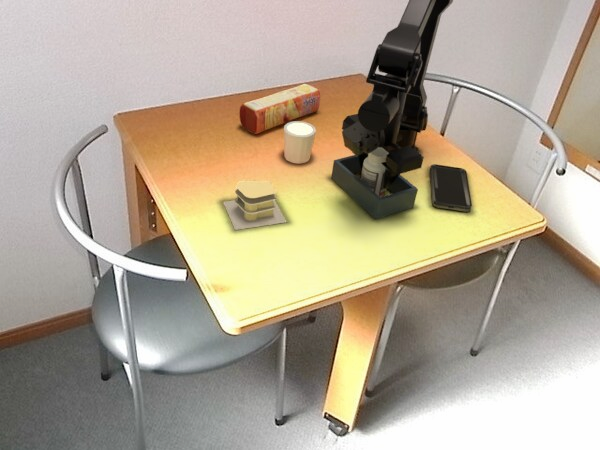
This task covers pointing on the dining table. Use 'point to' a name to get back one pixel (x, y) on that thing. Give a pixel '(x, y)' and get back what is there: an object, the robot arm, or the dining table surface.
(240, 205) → the stacked layers on plate
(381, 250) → the dining table surface
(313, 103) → the snack package
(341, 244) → the dining table surface
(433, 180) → the phone
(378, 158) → the pill bottle
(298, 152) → the white cup
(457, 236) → the dining table surface
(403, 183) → the bin
